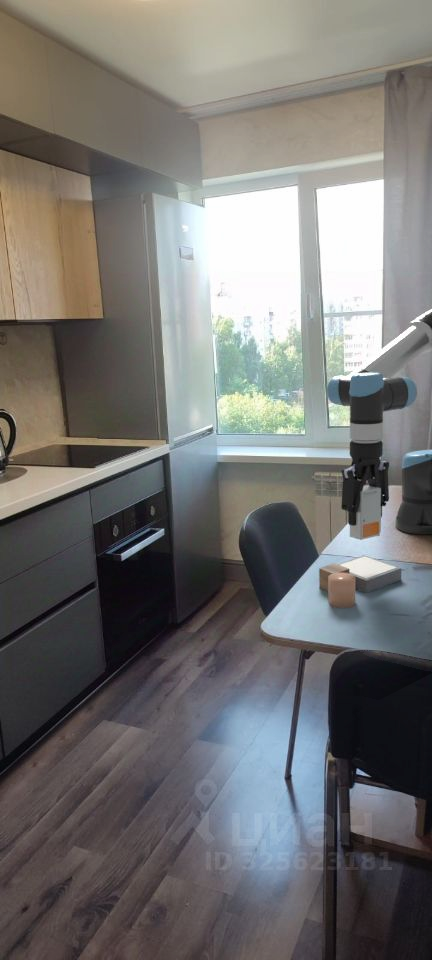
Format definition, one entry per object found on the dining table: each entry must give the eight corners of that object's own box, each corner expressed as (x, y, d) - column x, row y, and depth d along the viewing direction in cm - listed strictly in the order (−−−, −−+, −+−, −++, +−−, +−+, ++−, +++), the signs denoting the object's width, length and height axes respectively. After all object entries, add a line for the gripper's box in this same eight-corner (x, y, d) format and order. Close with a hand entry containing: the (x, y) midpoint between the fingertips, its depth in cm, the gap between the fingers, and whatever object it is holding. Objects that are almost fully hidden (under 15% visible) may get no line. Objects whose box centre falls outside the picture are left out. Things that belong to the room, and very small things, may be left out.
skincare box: (361, 540, 159) (361, 491, 156) (349, 536, 163) (349, 488, 160) (381, 535, 162) (381, 487, 159) (369, 531, 165) (369, 484, 163)
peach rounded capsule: (341, 594, 156) (341, 570, 155) (361, 602, 152) (361, 578, 150) (322, 601, 153) (322, 577, 152) (341, 610, 148) (341, 584, 147)
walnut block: (334, 582, 164) (334, 563, 163) (349, 588, 160) (349, 568, 159) (319, 587, 161) (319, 568, 160) (334, 594, 157) (334, 574, 156)
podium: (364, 566, 173) (364, 554, 172) (401, 579, 163) (401, 567, 162) (330, 578, 166) (330, 566, 166) (366, 592, 157) (366, 580, 156)
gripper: (382, 432, 165) (381, 522, 170) (324, 443, 154) (325, 539, 160) (406, 436, 159) (404, 529, 164) (348, 448, 148) (348, 547, 154)
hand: (365, 534), depth 162 cm, fingers closed on skincare box, 6 cm apart
